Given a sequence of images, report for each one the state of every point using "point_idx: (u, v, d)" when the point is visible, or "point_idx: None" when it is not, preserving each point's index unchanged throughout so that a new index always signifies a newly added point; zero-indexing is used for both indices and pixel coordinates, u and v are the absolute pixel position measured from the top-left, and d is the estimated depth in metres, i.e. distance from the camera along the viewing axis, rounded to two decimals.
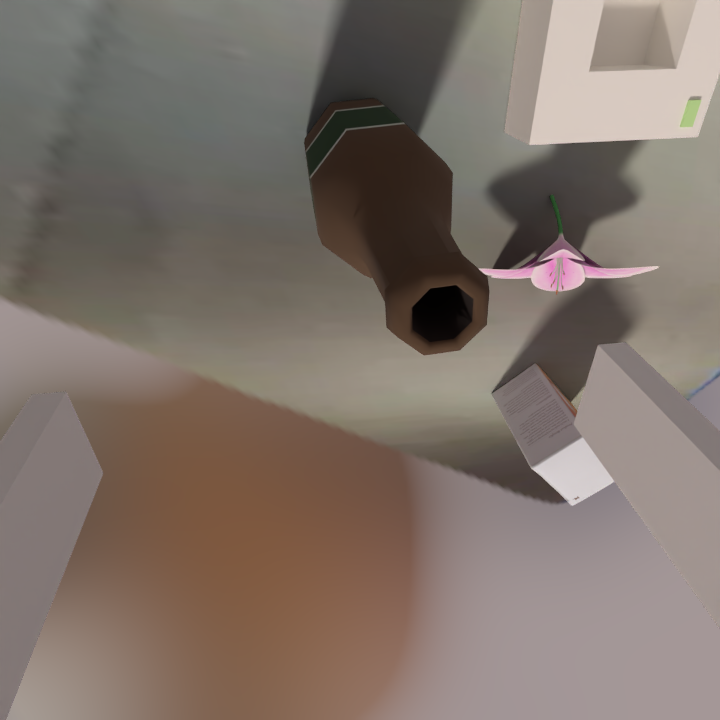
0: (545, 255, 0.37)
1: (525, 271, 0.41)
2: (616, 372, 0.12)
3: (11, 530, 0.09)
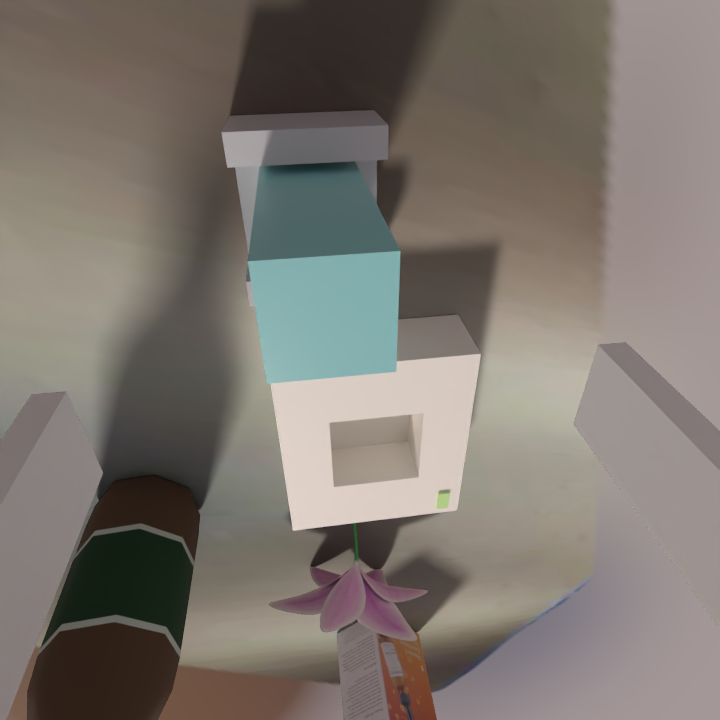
0: (335, 591, 0.40)
1: (335, 576, 0.44)
2: (616, 372, 0.12)
3: (11, 530, 0.09)
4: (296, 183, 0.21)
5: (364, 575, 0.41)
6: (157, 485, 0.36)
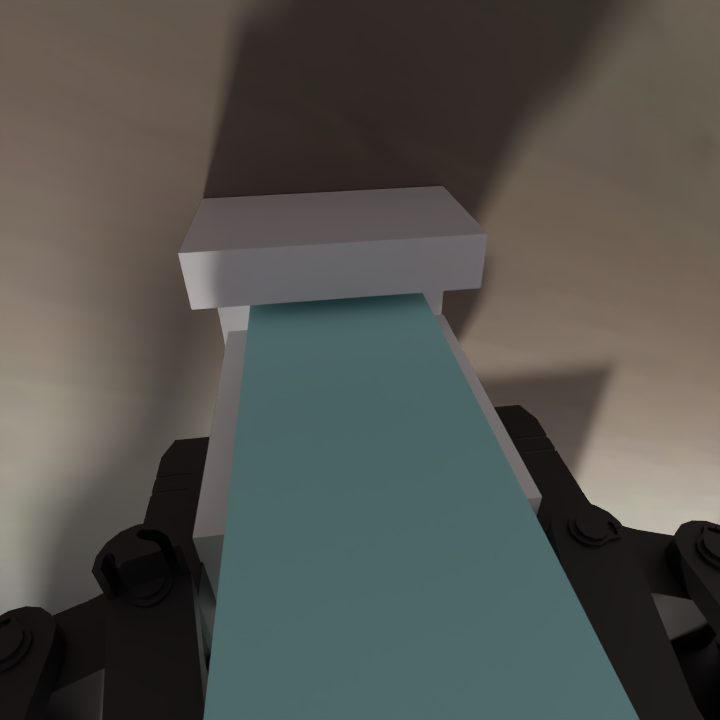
0: None
1: None
2: None
3: None
4: (318, 345, 0.11)
5: None
6: None
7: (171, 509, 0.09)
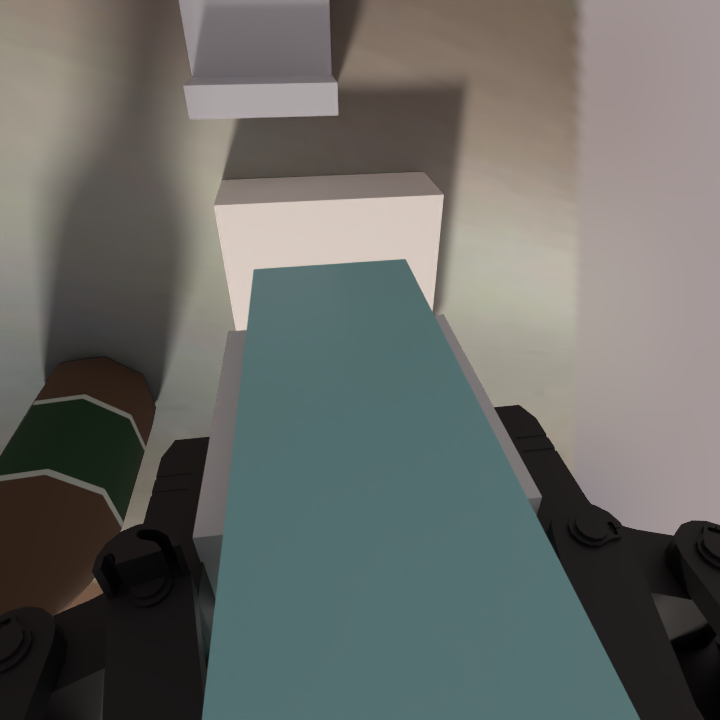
0: None
1: None
2: None
3: None
4: (317, 344, 0.11)
5: None
6: (107, 365, 0.34)
7: (171, 509, 0.09)
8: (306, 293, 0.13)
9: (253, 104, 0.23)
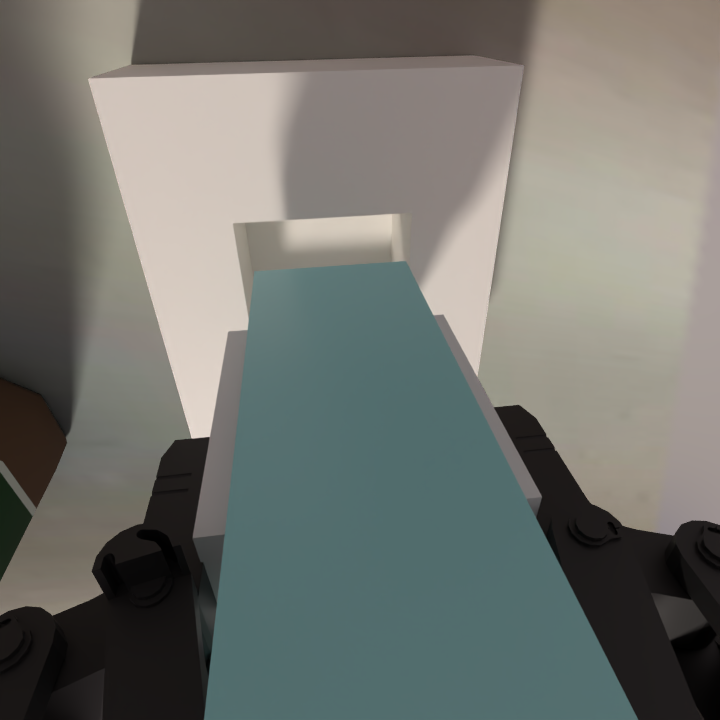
0: None
1: None
2: None
3: None
4: (318, 347, 0.11)
5: None
6: None
7: (171, 509, 0.09)
8: (307, 295, 0.13)
9: None
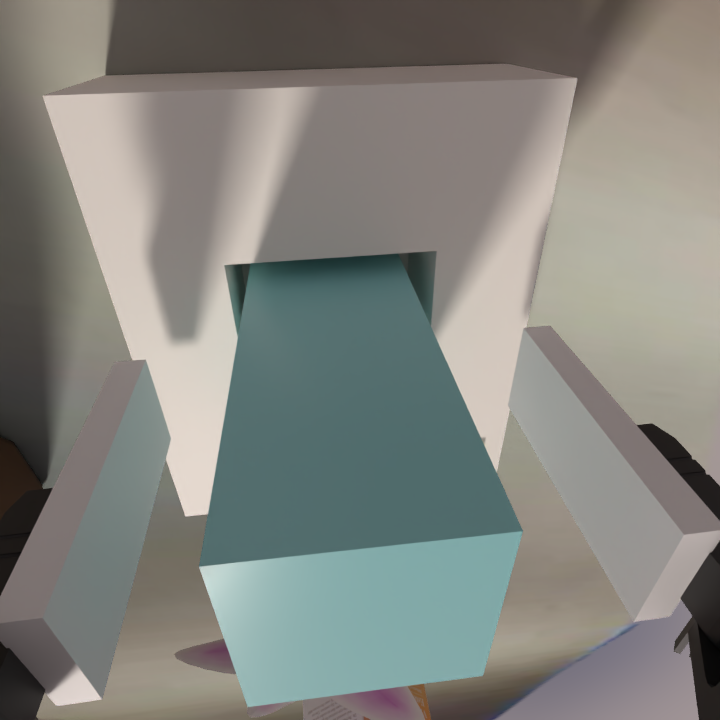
0: None
1: None
2: (537, 352, 0.13)
3: (116, 476, 0.10)
4: (306, 295, 0.13)
5: None
6: None
7: None
8: None
9: None
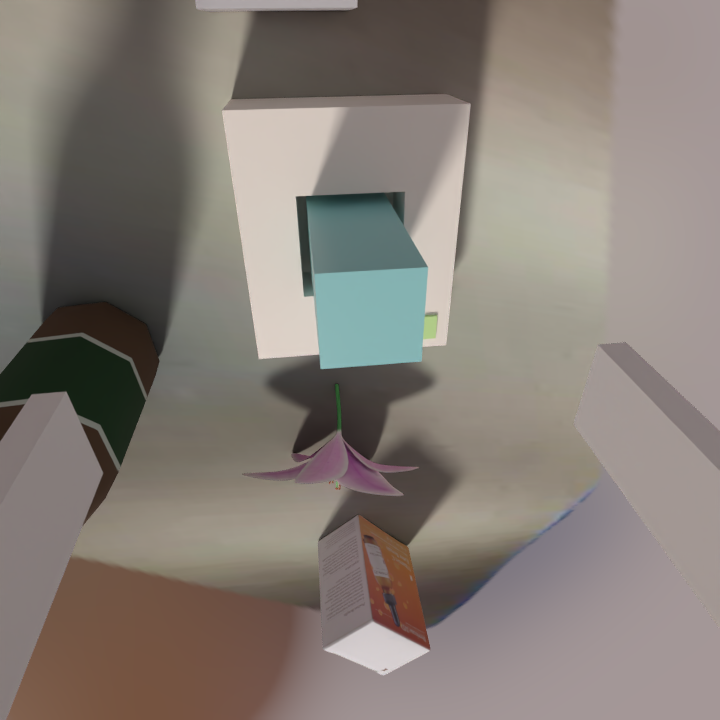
0: (315, 459, 0.36)
1: None
2: (616, 372, 0.12)
3: (11, 530, 0.09)
4: (339, 211, 0.26)
5: (348, 445, 0.37)
6: (108, 309, 0.32)
7: None
8: (332, 198, 0.28)
9: None
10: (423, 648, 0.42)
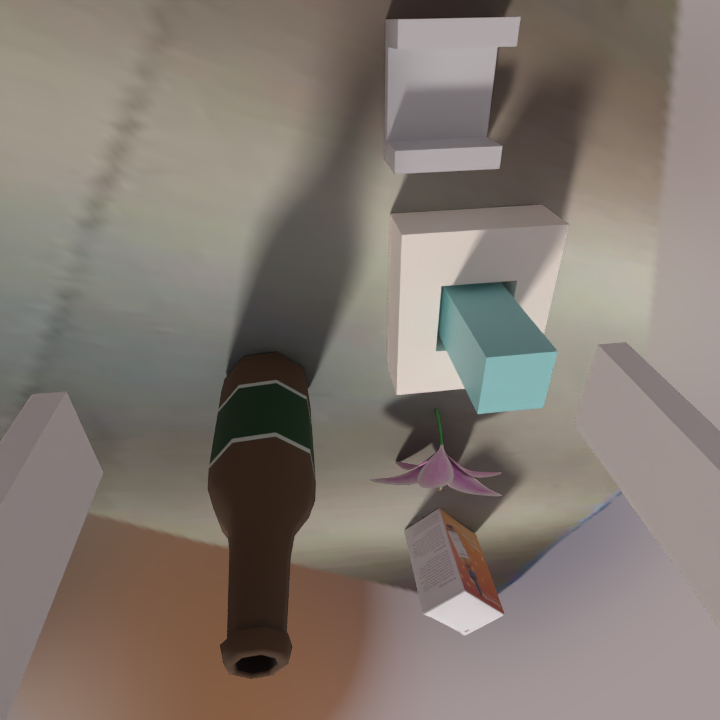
0: (426, 468, 0.47)
1: (420, 465, 0.51)
2: (617, 372, 0.12)
3: (11, 530, 0.09)
4: (472, 296, 0.36)
5: None
6: (280, 358, 0.42)
7: None
8: None
9: (441, 162, 0.32)
10: (499, 612, 0.53)
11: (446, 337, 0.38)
